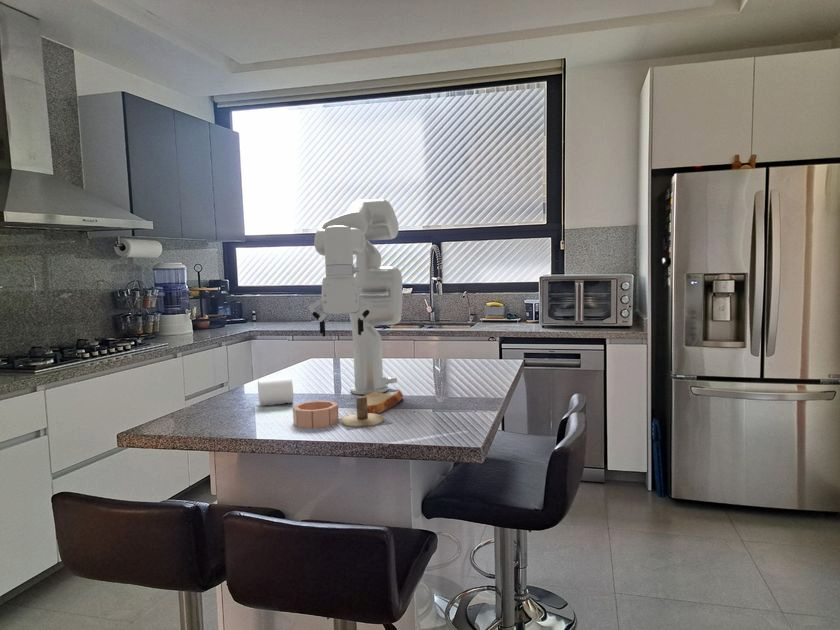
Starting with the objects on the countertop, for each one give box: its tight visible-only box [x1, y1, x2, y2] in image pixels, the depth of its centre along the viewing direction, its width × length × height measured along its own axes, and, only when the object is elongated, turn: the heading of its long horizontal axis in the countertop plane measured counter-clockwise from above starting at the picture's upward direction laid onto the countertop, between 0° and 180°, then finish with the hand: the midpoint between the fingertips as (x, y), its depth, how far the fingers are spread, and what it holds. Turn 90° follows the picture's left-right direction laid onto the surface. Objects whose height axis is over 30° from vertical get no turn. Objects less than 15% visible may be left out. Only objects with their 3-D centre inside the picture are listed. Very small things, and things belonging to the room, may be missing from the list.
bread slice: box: [364, 389, 404, 414], centre depth 172 cm, size 18×18×4 cm
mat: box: [337, 417, 393, 431], centre depth 154 cm, size 12×12×1 cm
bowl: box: [292, 400, 340, 429], centre depth 154 cm, size 11×11×5 cm
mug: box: [257, 376, 294, 407], centre depth 181 cm, size 12×10×8 cm
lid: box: [342, 395, 384, 428], centre depth 153 cm, size 11×11×6 cm
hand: (341, 335), depth 158 cm, fingers open, 9 cm apart
